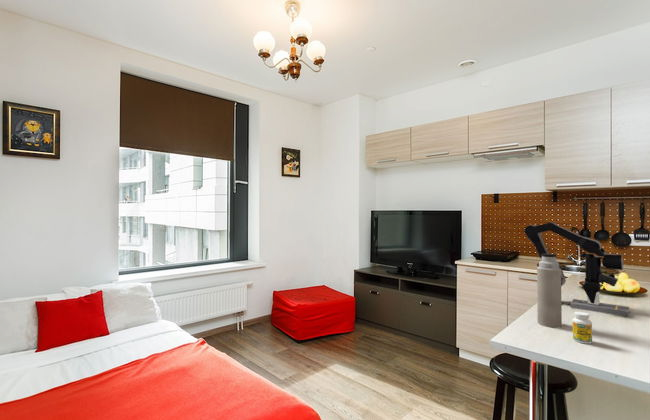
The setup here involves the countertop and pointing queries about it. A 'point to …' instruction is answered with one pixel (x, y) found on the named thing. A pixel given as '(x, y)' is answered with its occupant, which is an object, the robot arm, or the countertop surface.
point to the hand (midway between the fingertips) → (593, 301)
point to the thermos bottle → (549, 292)
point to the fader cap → (597, 299)
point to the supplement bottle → (582, 328)
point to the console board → (600, 307)
